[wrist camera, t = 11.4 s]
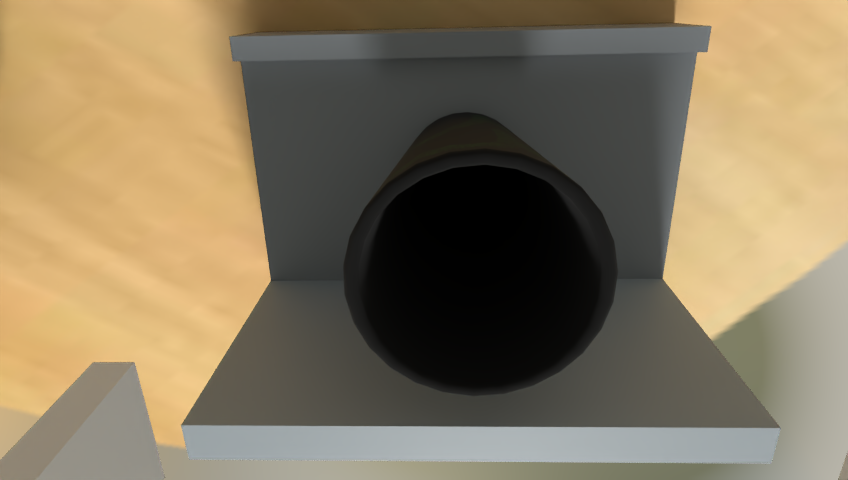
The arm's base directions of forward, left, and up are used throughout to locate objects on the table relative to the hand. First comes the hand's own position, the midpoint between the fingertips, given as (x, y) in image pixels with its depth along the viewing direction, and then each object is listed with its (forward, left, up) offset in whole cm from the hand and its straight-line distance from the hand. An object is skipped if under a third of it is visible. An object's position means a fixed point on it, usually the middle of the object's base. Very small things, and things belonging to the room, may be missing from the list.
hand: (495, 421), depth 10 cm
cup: (0, 0, -18) cm, 18 cm away
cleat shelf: (+1, 0, -21) cm, 21 cm away
